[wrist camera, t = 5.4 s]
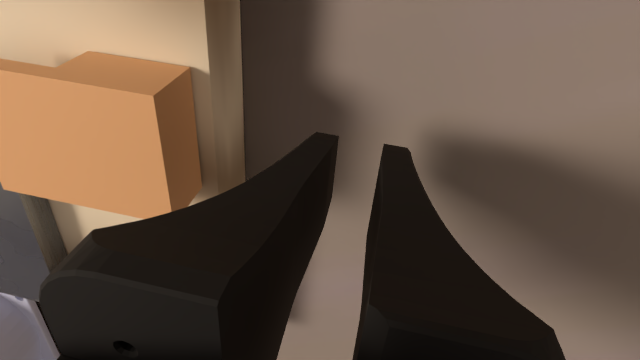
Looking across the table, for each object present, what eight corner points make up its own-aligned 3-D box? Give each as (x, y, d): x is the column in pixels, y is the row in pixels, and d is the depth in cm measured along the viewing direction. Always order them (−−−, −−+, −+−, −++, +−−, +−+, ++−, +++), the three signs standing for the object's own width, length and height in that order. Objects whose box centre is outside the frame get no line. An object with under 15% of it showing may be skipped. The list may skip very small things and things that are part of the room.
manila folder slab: (202, 187, 14) (173, 225, 13) (48, 156, 15) (3, 189, 13) (189, 67, 12) (153, 95, 10) (8, 38, 13) (-52, 60, 11)
